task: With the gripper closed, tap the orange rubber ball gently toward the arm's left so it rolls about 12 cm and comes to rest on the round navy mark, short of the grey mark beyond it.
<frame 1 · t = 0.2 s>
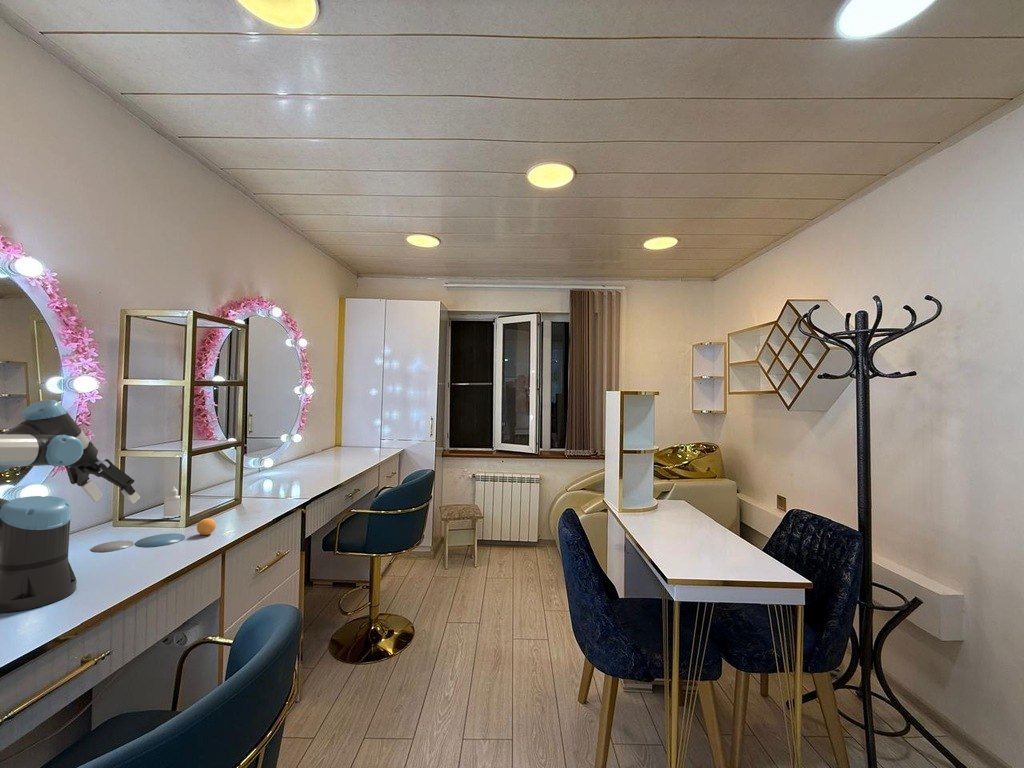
hand: (117, 499, 139), 16 cm above the table, tool tilted 35°, fingers open, 13 cm apart
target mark: (160, 540, 149), on the table
ball: (206, 526, 156), on the table
eye dropper bottle: (172, 518, 174), on the table
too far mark: (112, 546, 142), on the table
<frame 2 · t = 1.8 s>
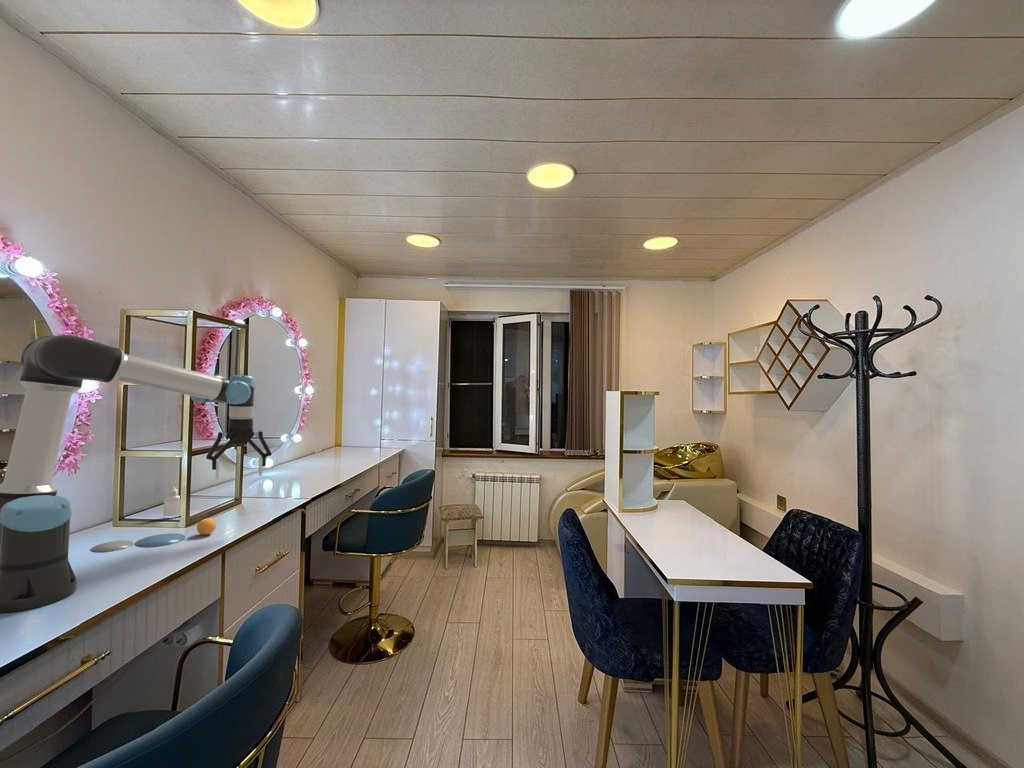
hand: (239, 477, 161), 19 cm above the table, tool pointing down, fingers open, 13 cm apart
nothing on the table moved.
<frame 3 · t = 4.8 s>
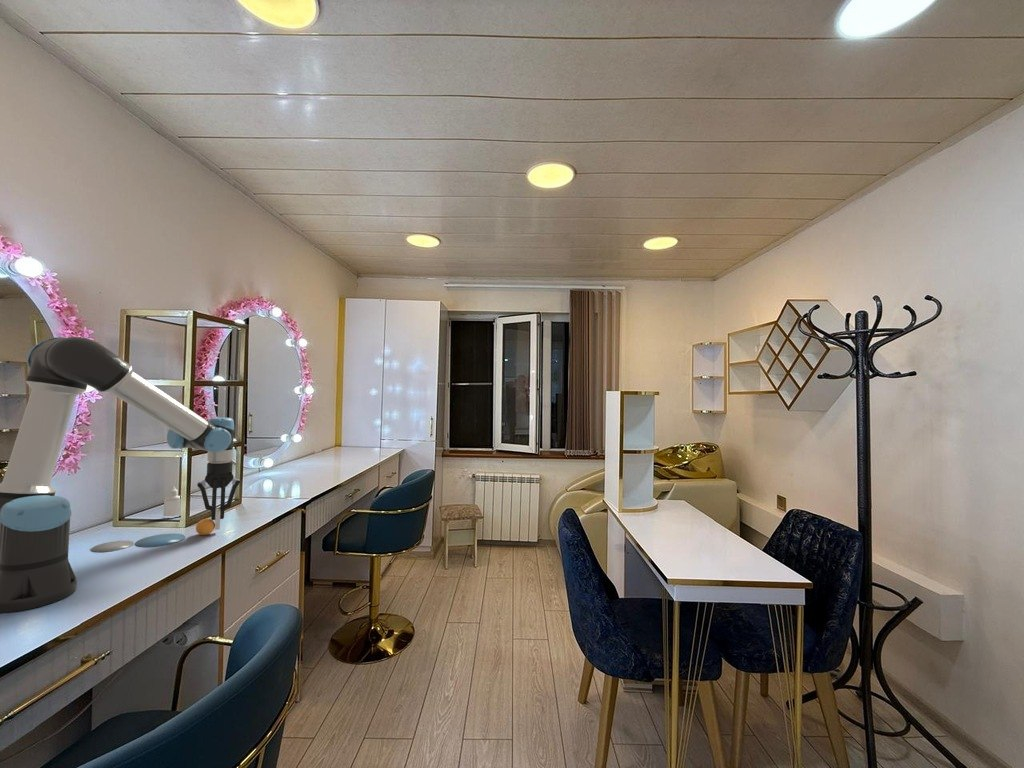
hand: (217, 528, 158), 2 cm above the table, tool pointing down, fingers closed
ball: (205, 526, 156), on the table, touching gripper
everything else where it was.
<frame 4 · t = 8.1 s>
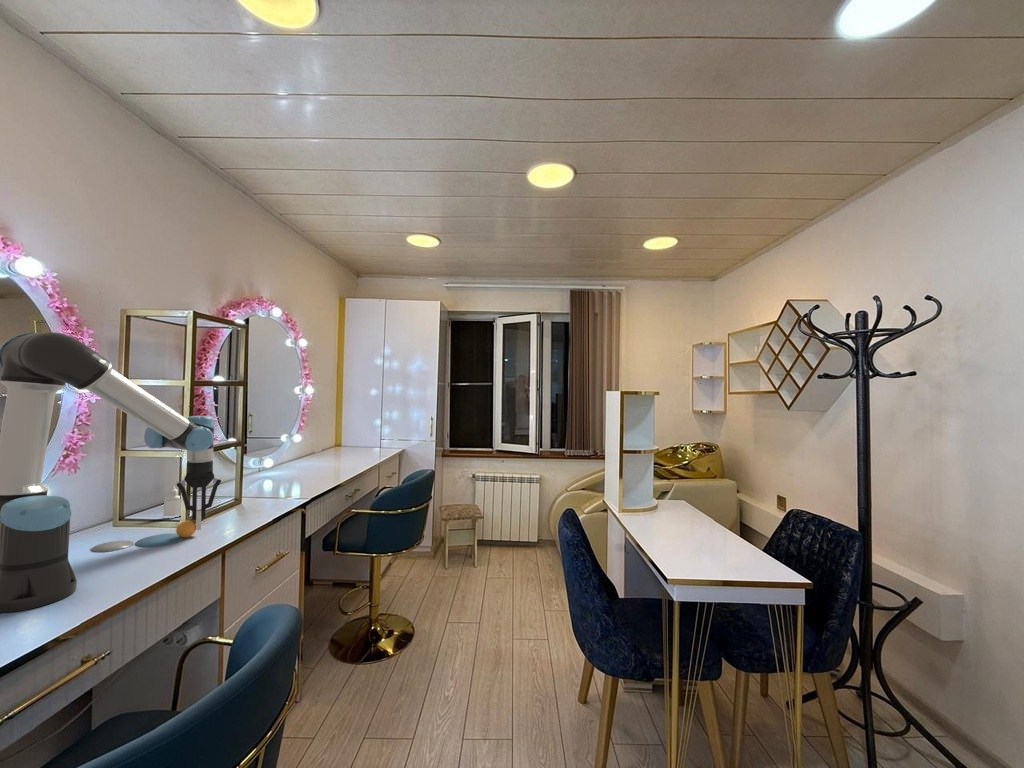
hand: (198, 528, 155), 2 cm above the table, tool pointing down, fingers closed
ball: (186, 529, 153), on the table, touching gripper
everything else where it was.
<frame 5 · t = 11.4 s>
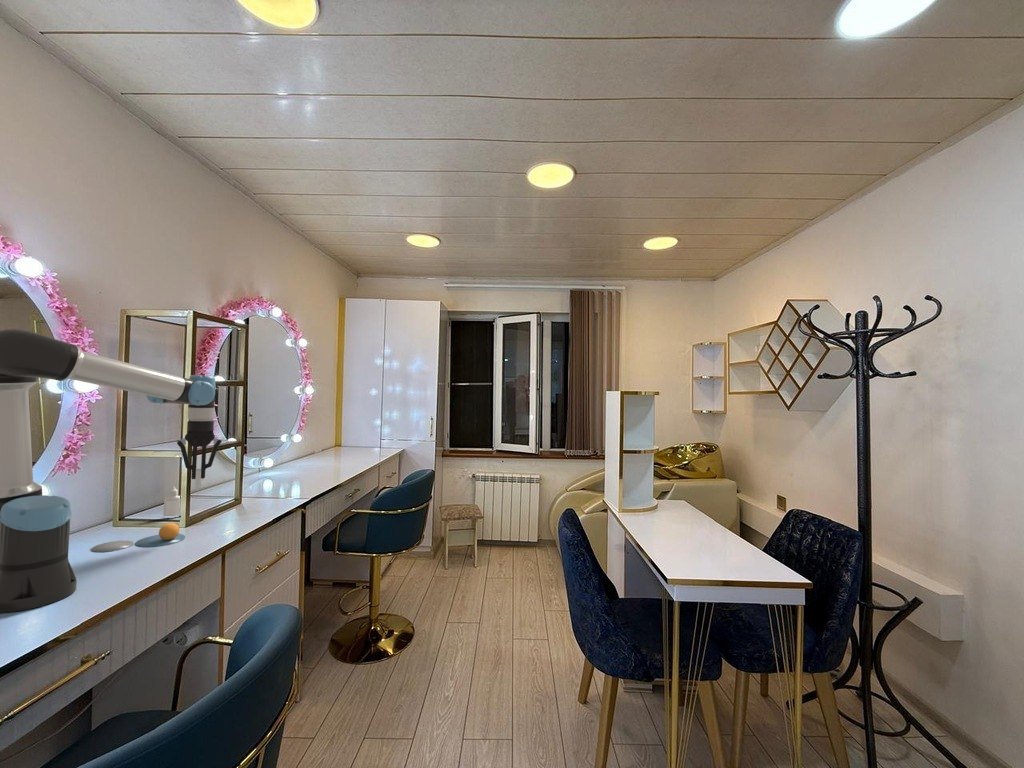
hand: (197, 488, 154), 16 cm above the table, tool pointing down, fingers closed
ball: (169, 531, 150), on the table
everything else where it was.
at the end: ball 2.3 cm from the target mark (horizontally); ball at rest at the end (0.0 cm/s); ball moved 10.3 cm from its start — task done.
